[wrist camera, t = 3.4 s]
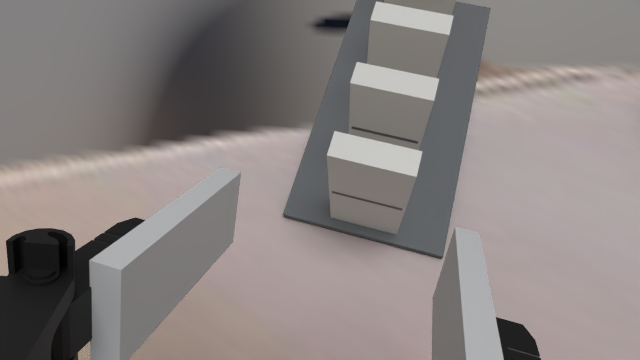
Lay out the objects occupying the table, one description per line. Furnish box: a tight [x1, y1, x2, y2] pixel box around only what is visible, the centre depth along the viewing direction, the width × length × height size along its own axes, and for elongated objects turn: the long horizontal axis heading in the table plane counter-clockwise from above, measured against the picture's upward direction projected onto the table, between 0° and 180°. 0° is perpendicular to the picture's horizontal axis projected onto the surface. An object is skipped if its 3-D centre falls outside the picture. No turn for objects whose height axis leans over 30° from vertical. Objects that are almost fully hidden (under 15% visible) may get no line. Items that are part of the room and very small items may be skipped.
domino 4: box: [327, 131, 423, 235], centre depth 30 cm, size 2×5×10 cm, turn 73°
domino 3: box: [349, 62, 439, 150], centre depth 32 cm, size 2×5×10 cm, turn 74°
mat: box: [283, 0, 490, 259], centre depth 39 cm, size 24×12×1 cm, turn 164°
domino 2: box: [367, 1, 454, 78], centre depth 34 cm, size 2×5×10 cm, turn 74°
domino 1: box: [384, 0, 456, 15], centre depth 36 cm, size 2×5×10 cm, turn 74°
